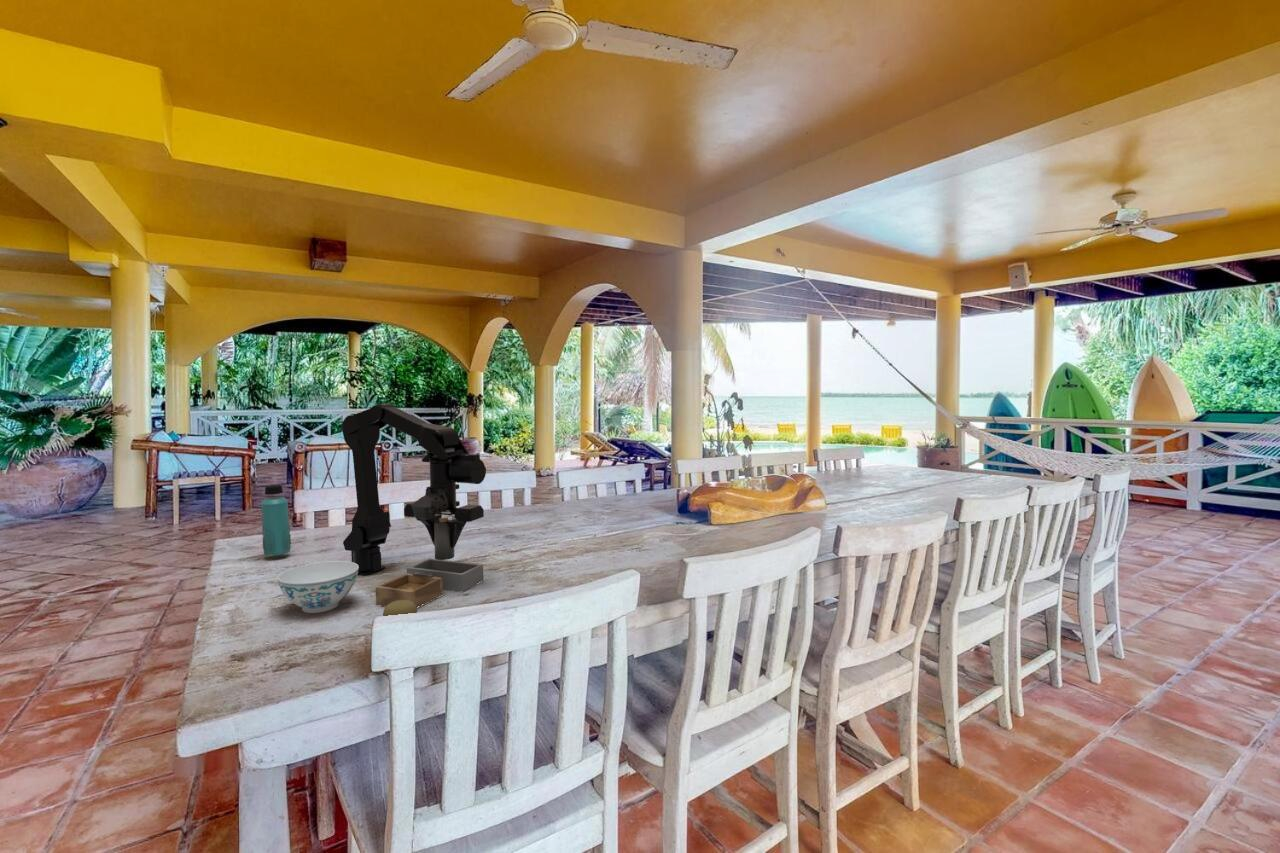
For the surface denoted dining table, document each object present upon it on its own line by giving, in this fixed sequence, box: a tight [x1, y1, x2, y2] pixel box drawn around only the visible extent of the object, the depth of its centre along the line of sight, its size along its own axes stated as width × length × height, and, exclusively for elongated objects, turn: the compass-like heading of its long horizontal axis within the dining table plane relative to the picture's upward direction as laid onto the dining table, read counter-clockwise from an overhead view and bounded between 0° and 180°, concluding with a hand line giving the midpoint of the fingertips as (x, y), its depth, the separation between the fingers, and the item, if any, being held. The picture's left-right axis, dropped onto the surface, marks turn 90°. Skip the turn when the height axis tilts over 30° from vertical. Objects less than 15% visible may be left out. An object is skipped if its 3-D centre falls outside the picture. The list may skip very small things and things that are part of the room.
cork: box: [382, 600, 420, 676], centre depth 96 cm, size 6×6×11 cm
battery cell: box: [434, 517, 455, 561], centre depth 137 cm, size 4×4×9 cm
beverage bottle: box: [260, 484, 292, 556], centre depth 158 cm, size 6×7×20 cm
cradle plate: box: [397, 583, 422, 591], centre depth 126 cm, size 7×7×1 cm
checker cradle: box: [374, 572, 444, 607], centre depth 126 cm, size 10×10×4 cm
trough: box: [406, 558, 485, 592], centre depth 137 cm, size 16×8×4 cm, turn 71°
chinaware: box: [276, 560, 359, 614], centre depth 122 cm, size 15×15×8 cm
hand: (444, 546), depth 137 cm, fingers closed on battery cell, 4 cm apart
